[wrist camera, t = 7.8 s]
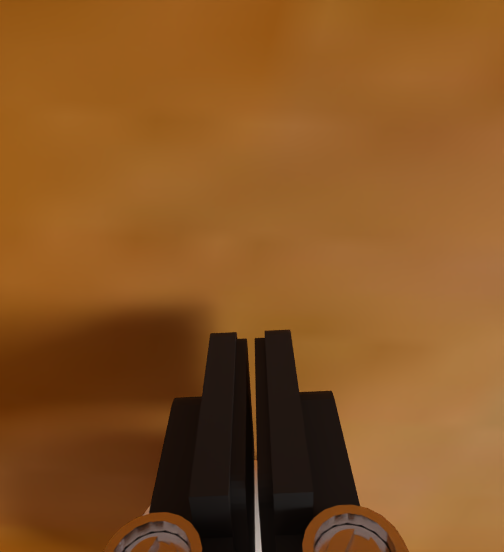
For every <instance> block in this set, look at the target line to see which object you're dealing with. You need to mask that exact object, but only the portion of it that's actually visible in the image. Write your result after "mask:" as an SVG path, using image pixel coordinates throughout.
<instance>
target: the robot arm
mask: <svg viewBox="0 0 504 552" xmlns="http://www.w3.org/2000/svg"><path fill="white" fill-rule="evenodd" d="M255 376H256V429H257V480H258V504H259V519H260V534H261V548H262V552H409V551H408V549H407V547H406V545H405V543H404V540H403V539H402V537H401V536H400V534H399V533H398V531H397V530H396V528H395V527H394V526H393V525H392V524H391V523H390V522H389V521H388V520H386V519H385V518H384V517H383V516H382V515H380V514H378V513H376V512H374V511H372V510H370V509H368V508H365V507H361V506H360V504H359V500H358V496H357V491H356V487H355V483H354V479H353V475H352V471H351V466H350V462H349V458H348V454H347V450H346V445H345V441H344V437H343V433H342V429H341V425H340V420H339V416H338V412H337V408H336V404H335V399H334V396H333V393H332V391H316V392H299V388H298V381H297V374H296V367H295V360H294V353H293V346H292V339H291V332H290V330H274V331H265V338H255ZM103 552H255V485H254V435H253V420H252V406H251V391H250V377H249V362H248V348H247V339H237V333H236V332H232V333H211V334H210V340H209V348H208V355H207V363H206V370H205V378H204V385H203V393H202V397H183V398H175V399H174V400H173V403H172V407H171V412H170V416H169V421H168V426H167V430H166V435H165V440H164V444H163V449H162V454H161V459H160V463H159V468H158V473H157V477H156V482H155V487H154V491H153V496H152V501H151V505H150V510H149V514H147V515H143V516H140V517H137V518H135V519H134V520H132V521H131V522H129V523H127V524H126V525H124V526H123V527H122V528H121V529H120V530H119V531H118V532H117V533H116V534H115V535H114V536H113V537H112V538H111V539H110V541H109V542H108V544H107V546H106V547H105V549H104V551H103Z"/></svg>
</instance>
